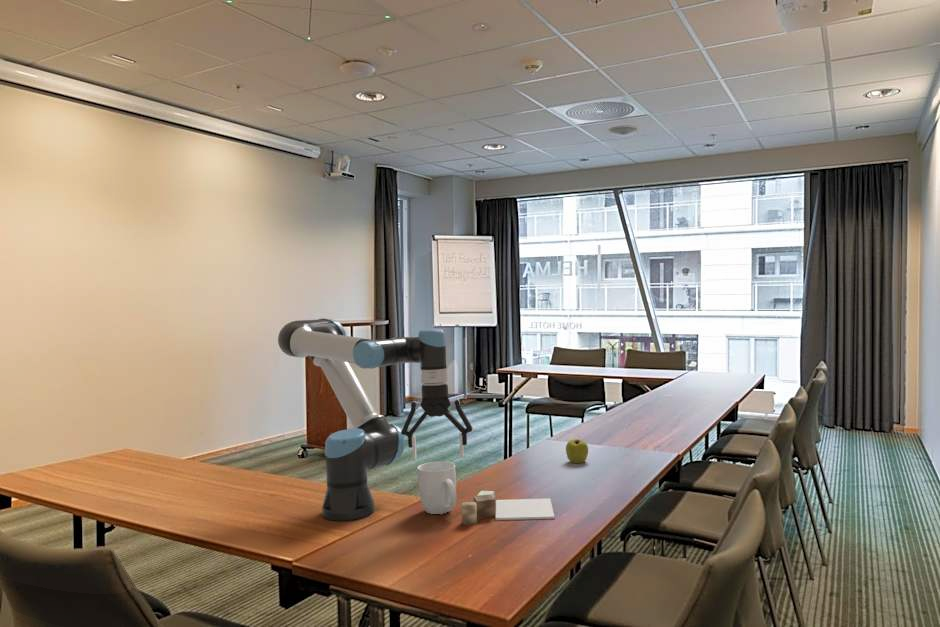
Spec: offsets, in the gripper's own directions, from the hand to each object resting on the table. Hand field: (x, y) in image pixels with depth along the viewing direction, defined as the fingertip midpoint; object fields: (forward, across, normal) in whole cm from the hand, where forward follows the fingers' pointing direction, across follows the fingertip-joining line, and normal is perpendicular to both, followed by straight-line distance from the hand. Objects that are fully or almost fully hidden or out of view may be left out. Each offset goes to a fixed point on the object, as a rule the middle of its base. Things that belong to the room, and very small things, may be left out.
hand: (438, 457), depth 184 cm
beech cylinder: (+16, +9, -9) cm, 20 cm away
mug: (+16, 0, 0) cm, 16 cm away
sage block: (+16, +13, +4) cm, 21 cm away
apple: (+16, +45, +52) cm, 71 cm away
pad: (+16, +24, 0) cm, 28 cm away
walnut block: (+16, +13, -3) cm, 21 cm away
